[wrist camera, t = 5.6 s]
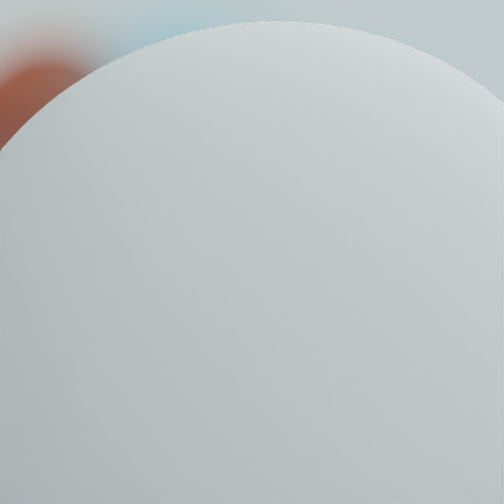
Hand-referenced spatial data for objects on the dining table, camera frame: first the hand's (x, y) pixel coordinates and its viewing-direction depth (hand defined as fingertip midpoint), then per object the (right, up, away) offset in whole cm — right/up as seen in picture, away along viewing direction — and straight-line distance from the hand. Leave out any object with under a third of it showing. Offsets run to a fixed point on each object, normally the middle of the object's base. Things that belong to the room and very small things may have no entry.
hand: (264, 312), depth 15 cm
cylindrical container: (+2, -8, +9) cm, 12 cm away
